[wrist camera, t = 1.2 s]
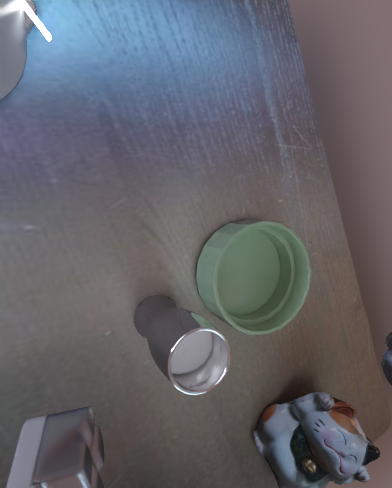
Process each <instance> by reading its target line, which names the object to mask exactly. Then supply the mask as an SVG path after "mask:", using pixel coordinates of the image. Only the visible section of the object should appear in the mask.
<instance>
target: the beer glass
mask: <svg viewBox="0 0 392 488" xmlns="http://www.w3.org/2000/svg"><path fill="white" fill-rule="evenodd" d="M134 324H135V327H136V330H137V331H138V332H139V334H140V335H142V336H143V337H145V338H146V339H147V342H148V346H149V350H150V352H151V355H152V358H153V360H154V361H155V363H156V365H157V366H158V368H159V369H160V370H161V372H162V373H163V374H164V375H165V376H166V377H167V378H168V380H169V381H171V382H172V384H173V385H174V386H175V387H176V388H177V389H178V390H179V391H181V392H183V393H185V394H190V395H199V394H203V393H206V392H208V391H210V390H212V389H213V388H215V387H216V386H217V385H218V384H219V383H220V382H221V381H222V380H223V378H224V377H225V375H226V374H227V371H228V369H229V366H230V362H231V349H230V345H229V342H228V340H227V339H226V337H225V336H224V335H223V334H222V333H221V332H220V331H218V330H217V329H216V328H215V327H214V326H213V325H212V324H211V323H210V322H209V321H207V320H206V319H205V318H203V317H202V316H200V315H199V314H197V313H195V312H192V311H190V310H187V309H183V308H179V307H177V306H176V304H175V303H174V301H173V300H172V299H170V298H169V297H167V296H164V295H152V296H149V297H147V298H146V299H144V300H143V301H142V302H141V303H140V304H139V305H138V307H137V309H136V311H135V314H134Z"/></svg>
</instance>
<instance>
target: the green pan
mask: <svg viewBox="0 0 392 488" xmlns="http://www.w3.org/2000/svg"><path fill="white" fill-rule="evenodd" d="M196 278H197V279H196V280H197V285H198V290H199V295H200V297H201V299H202V300H203V302H204V304H205V306H206V307H207V309H208V310H209V311H211V312H212V313H213V314H214V315H215V316H216V317H218V318H219V319H221V320H222V321H224V322H225V323H227V324H228V325H230V326H232V327H233V328H235V329H236V330H238V331H241V332H244V333H247V334H250V335H265V334H269V333H271V332H274V331H276V330H279V329H281V328H283V327H284V326H285V325H286V324H287V323H289V322H290V321H291V320H292V319H293V318H294V317H295V316H296V314H297V313H298V312H299V310H300V309H301V307H302V306H303V304H304V302H305V299H306V296H307V294H308V291H309V288H310V279H311V266H310V259H309V254H308V252H307V250H306V248H305V245H304V243H303V241H302V240H301V239H300V238H299V237H298V235H297V234H296V233H295V232H294V231H293V230H292V229H290V228H288V227H286V226H285V225H283V224H281V223H278V222H269V221H256V220H240V221H236V222H232V223H229V224H227V225H225V226H224V227H222V228H221V229H219V230H218V231H216V232H215V233H214V234H213V235H212V236H211V238H210V239H209V240H208V241H207V243H206V244H205V245H204V247H203V250H202V252H201V255H200V257H199V260H198V265H197V275H196Z"/></svg>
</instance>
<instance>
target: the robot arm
mask: <svg viewBox="0 0 392 488" xmlns="http://www.w3.org/2000/svg"><path fill="white" fill-rule="evenodd" d="M34 23H35V24H36V26H37V27H38V28H39V30H40V31H41V32H42V33H43V35H44V36H45V37H46V39H47V40H48V41H51V35H50V33H49V32H48V31H47V30H46V28H45V27H44V26H43V24H42V23H41V22H40V20H39V19H38V18H37V10H36V7H35V4H34V2H33V1H32V0H0V100H1V99H3V98H4V97H5V96H7V95H8V94H9V93H10V92H11V91H12V90H13V89H14V88H15V86H16V85H17V83H18V82H19V80H20V78H21V76H22V74H23V71H24V67H25V63H26V49H27V37H28V34H29V32H30V31H31V29H32V27H33V25H34ZM385 344H386V345H387V347H388V348H389V349H388V350H387V351H386V352H385V353H384V354H383V357H382V368H383V372H384V375H385V377H386V378H387V380H388V382H389V383H390V384H391V385H392V332H391V333H390V334H389V335H388V336H387V338H386V342H385ZM103 468H104V443H103V437H102V433H101V430H100V427H99V426H98V425H96V424H95V413H94V411H93V408H92V406H87V407H82V408H77V409H73V410H68V411H63V412H59V413H54V414H49V415H46V416H41V417H37V418H32V419H28V420H26V422H25V424H24V425H23V427H22V430H21V434H20V438H19V441H18V445H17V449H16V453H15V456H14V460H13V464H12V468H11V471H10V475H9V479H8V483H7V486H6V488H104V485H103V483H102V480H101V478H100V475H99V474H100V473H101V471H102V469H103Z"/></svg>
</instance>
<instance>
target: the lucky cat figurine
mask: <svg viewBox="0 0 392 488" xmlns="http://www.w3.org/2000/svg"><path fill="white" fill-rule="evenodd" d="M355 415H356V409H355V408H354V407H353V406H352V405H348V404H347V403H346V402H344V401H341V400H338V399H336V398H334V397H331V396H330V395H329V394H327V393H325V392H315V393H310V394H307V395H305V396H303V397H300V398H298V399H295V400H292V401H290V402H287V403H284V404H273V405H271V406H269V407H268V408H266V410H265V411H264V413H263V415H262V417H261V419H260V421H259V423H258V425H257V429H256V430H255V431H254V439H255V442H256V446H257V448H258V449H259V452H260V453H261V454H262V455H263V456H264V457H265V458H266V460H267V461H268V463H269V465H270V467H271V469H272V472H273V474H274V476H275V478H276V481H277V483H278V486H279V488H325V487H326V486H327V484H328V483H329V482H330V481H334V482H335V483H336V484H339V485H341V484H348V483H350V482H352V481H354V480H358V481H361V482H367V481H368V480H369V479H370V476H369V474H368V471H367V468H366V465H367V464H368V463H369V462H371V461H373V460H376V459H377V458H378V457H379V456H380V451H379V449H378V448H376V447H375V446H374V445H373V444H372V442H371V441H370V440H369V439H368V438H367V437H366V435H365V434H364V433H363V431H362V429H361V427H360V425H359V422H358V421H357V419H356V418H355Z"/></svg>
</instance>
